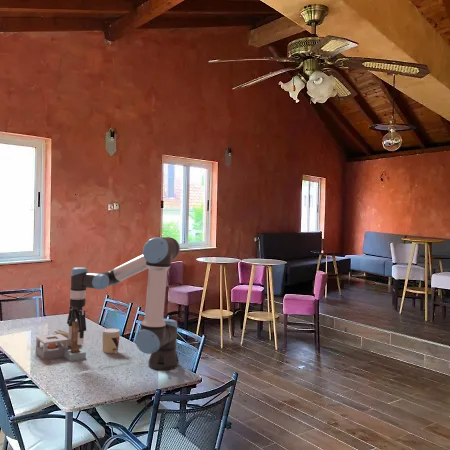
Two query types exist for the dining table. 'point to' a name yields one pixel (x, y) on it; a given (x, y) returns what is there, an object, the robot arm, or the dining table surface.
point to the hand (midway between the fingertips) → (75, 341)
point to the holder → (74, 355)
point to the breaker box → (53, 352)
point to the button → (51, 345)
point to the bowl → (63, 335)
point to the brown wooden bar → (74, 338)
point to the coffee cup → (111, 340)
